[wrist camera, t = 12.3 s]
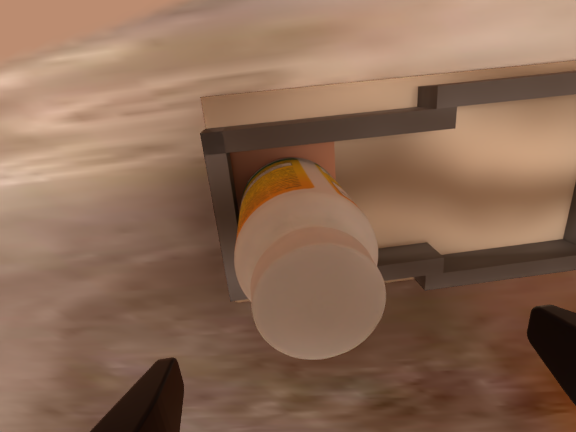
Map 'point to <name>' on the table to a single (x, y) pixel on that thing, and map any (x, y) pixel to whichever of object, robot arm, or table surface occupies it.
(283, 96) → the grey flat frame
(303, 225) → the supplement bottle
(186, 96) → the table surface
